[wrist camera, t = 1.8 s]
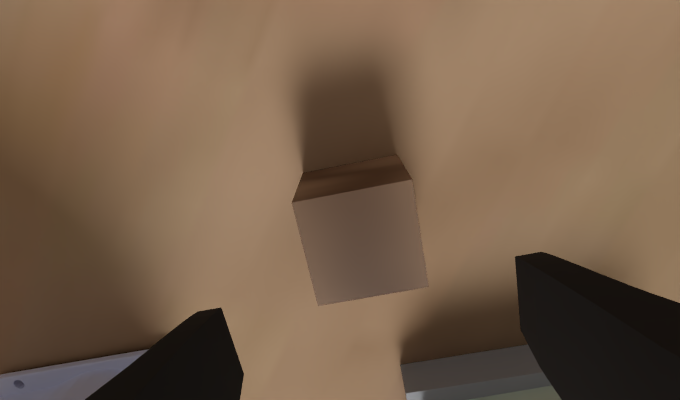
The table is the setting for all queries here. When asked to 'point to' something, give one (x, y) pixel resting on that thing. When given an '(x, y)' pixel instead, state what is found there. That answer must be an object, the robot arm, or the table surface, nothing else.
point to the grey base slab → (473, 375)
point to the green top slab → (526, 395)
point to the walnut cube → (360, 230)
